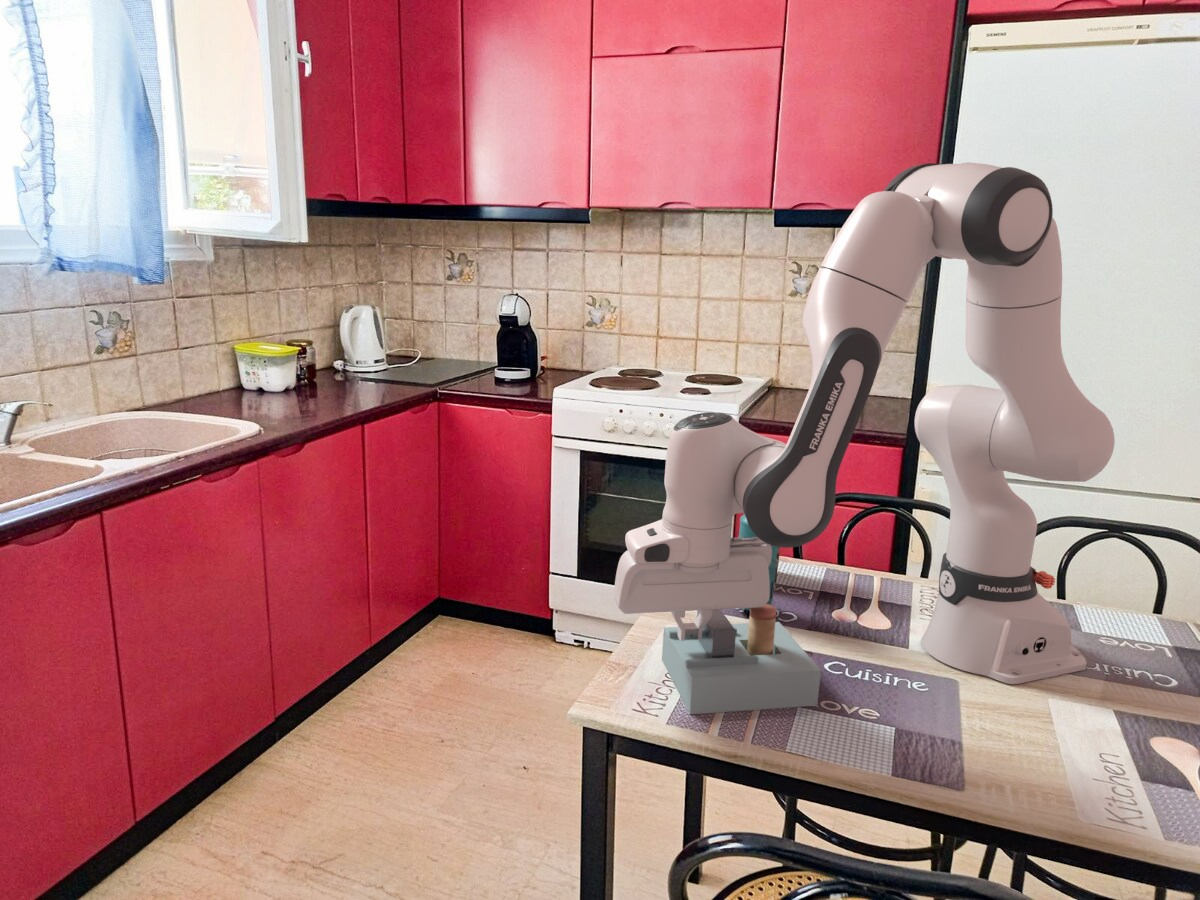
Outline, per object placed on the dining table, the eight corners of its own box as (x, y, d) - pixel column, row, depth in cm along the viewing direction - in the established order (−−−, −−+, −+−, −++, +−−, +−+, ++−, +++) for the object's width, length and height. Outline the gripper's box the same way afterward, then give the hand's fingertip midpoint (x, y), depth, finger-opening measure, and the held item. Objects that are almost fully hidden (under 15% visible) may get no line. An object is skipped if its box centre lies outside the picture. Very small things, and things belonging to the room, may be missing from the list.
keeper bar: (716, 634, 116) (718, 607, 115) (733, 659, 109) (736, 631, 108) (695, 635, 115) (697, 608, 114) (711, 660, 108) (713, 632, 107)
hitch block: (775, 653, 122) (779, 616, 121) (817, 705, 109) (821, 664, 107) (661, 660, 119) (664, 622, 118) (689, 714, 106) (692, 672, 104)
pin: (766, 671, 116) (771, 603, 114) (774, 683, 113) (779, 613, 111) (742, 672, 116) (747, 603, 114) (749, 684, 112) (754, 613, 110)
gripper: (764, 528, 113) (756, 623, 116) (613, 533, 109) (609, 631, 112) (782, 545, 107) (773, 645, 110) (623, 551, 103) (619, 654, 106)
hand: (689, 638), depth 111 cm, fingers closed
